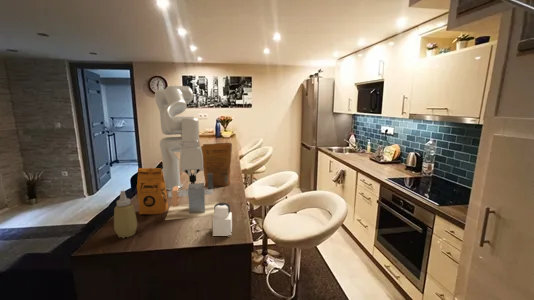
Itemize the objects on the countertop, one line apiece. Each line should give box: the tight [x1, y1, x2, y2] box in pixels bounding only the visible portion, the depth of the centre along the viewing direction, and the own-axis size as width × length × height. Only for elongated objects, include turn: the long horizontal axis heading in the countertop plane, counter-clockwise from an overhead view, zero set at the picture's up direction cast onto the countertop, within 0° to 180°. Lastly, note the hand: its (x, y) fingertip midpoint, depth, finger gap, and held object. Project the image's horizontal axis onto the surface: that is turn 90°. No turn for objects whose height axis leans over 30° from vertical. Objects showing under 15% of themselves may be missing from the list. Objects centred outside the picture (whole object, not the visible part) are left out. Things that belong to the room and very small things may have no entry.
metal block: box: [187, 182, 206, 214], centre depth 117 cm, size 8×7×12 cm
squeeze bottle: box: [113, 190, 138, 239], centre depth 96 cm, size 8×8×18 cm
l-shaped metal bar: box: [167, 173, 214, 198], centre depth 116 cm, size 2×20×10 cm, turn 104°
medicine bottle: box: [211, 202, 233, 237], centre depth 98 cm, size 7×7×12 cm
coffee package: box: [136, 167, 169, 216], centre depth 116 cm, size 10×12×22 cm
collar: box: [171, 186, 180, 207], centre depth 115 cm, size 7×2×7 cm, turn 14°
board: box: [164, 201, 220, 221], centre depth 118 cm, size 16×24×1 cm, turn 104°
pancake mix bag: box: [200, 142, 233, 188], centre depth 155 cm, size 7×19×28 cm, turn 100°
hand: (193, 183), depth 116 cm, fingers closed
